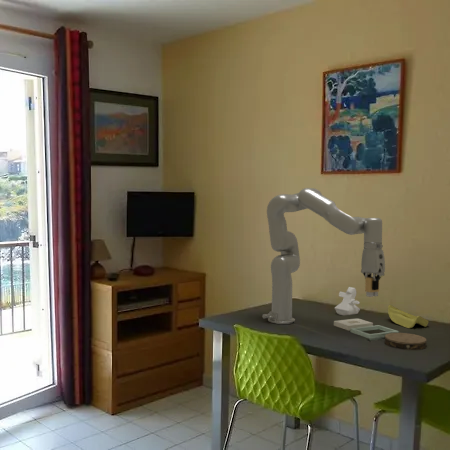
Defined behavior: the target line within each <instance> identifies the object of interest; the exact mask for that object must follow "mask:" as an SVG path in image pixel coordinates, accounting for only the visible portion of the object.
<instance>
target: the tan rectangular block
mask: <svg viewBox="0 0 450 450" xmlns="http://www.w3.org/2000/svg"><path fill="white" fill-rule="evenodd" d="M364 280H365V282H364V284H365V286H364V287H365V292H366V293H365V296H366V297H369V298H373V297H379V292H380V287H379V288H378V290H372V281H374V280H373V276H372V277H366V278H365V277H364Z"/></svg>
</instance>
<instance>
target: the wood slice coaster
mask: <svg viewBox="0 0 450 450" xmlns="http://www.w3.org/2000/svg"><path fill="white" fill-rule="evenodd" d="M384 344H385V345H387V346H388V347H391V348H394V349H400V350H408V351H417V350H423V349H426V348H427V338H426V337H424V336H422V335H418V334H414V333H408V332H399V333H389V334H386V335H385V339H384Z"/></svg>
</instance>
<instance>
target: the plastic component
mask: <svg viewBox="0 0 450 450" xmlns="http://www.w3.org/2000/svg"><path fill="white" fill-rule="evenodd" d="M387 313H388V316H389V318H390V320H391V321H392V322H393V323H395V324H396V325H399V326H401V327H403V328H407V329H412V328H414V326H416V325H419V326H421V327H424V328H427V326H428V324H429V322H430V321H429V320H428V319H426V318H424V317H422V316H420V315H417V316H416V315H413V314H411V313H408V312H406V311H403V310H401V309H398V308H397V307H395V306H393V305H391V304H389V305H388V307H387Z"/></svg>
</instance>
